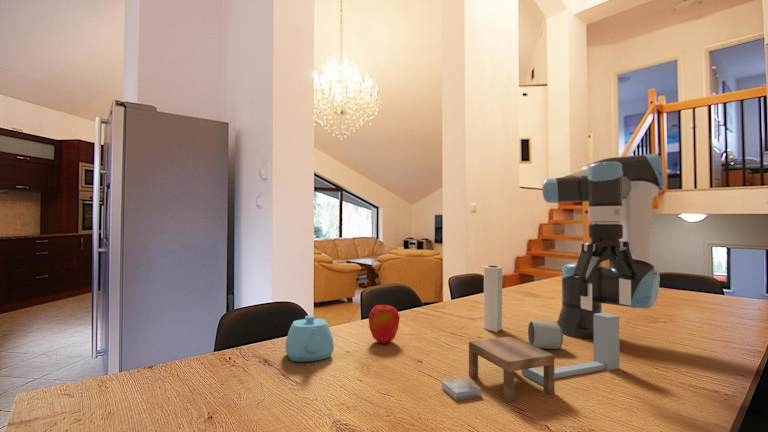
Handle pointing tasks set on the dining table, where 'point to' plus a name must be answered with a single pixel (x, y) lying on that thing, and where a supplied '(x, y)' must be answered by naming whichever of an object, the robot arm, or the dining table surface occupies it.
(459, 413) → the dining table surface
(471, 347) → the walnut table
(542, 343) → the ceramic mug
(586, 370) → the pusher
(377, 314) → the apple
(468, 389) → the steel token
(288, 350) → the teapot
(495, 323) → the paper towel roll
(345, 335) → the dining table surface
